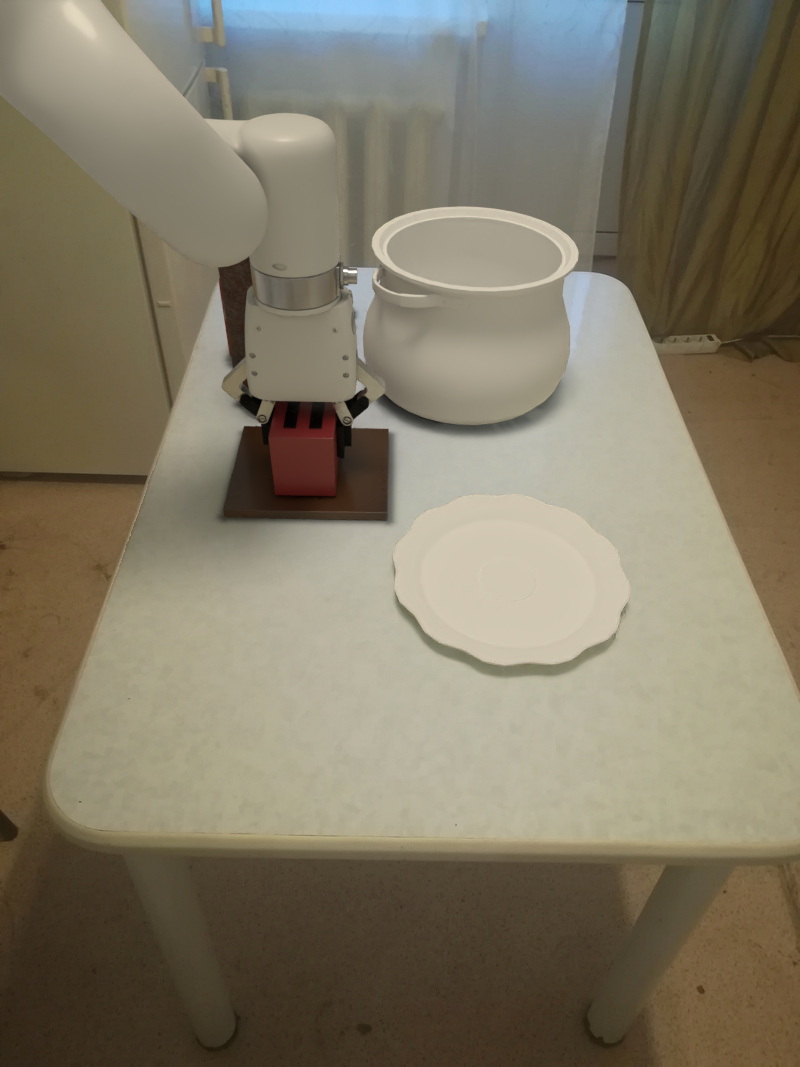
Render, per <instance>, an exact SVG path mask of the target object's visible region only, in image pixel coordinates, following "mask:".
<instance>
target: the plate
mask: <svg viewBox="0 0 800 1067" xmlns="http://www.w3.org/2000/svg"><path fill="white" fill-rule="evenodd" d="M391 555H392V556H391V558H392V561H393V566H394V570H395V575H394V583H393V590H394V592H395V596H396V598H397V600H398V602H399V604H400V605H401V606H402V607H404V609H406V611H408V612H409V613H410V614H411V615H412V616H414V619H415V620H416V622H417V623H418V624H419V626H420V628H421V629H422V631H423V633H424V634H425V635H427V636H428V637H430V638H431V639H433V640H434V641H436V642H437V643H438V644H439V645H442V646H446V647H449V648H452V649H456V650H458V651H461V652H464V653H466V654H468V655H470V656H471V657H473V658H475V659H477V660H478V661H480V662H482V663H484V664H490V665H496V666H500V667H510V666H511V667H512V666H519V665H528V664H530V665H541V666H557V665H561V664H564V663H568V662H572V661H573V660H575V659H576V658H577V657H578V656H580V655H581V654H582V653H583V652H585V651H586V650H587V649H590V648H593V647H595V646H598V645H599V644H600V645H601V644H603V643H605V642H608V640H610V638H611V637H612V636H613V635H615V633H616V632H617V631H618V629H619V625H620V620H621V614H622V611H623V610H624V608H625V607H626V605H627V604H628V602H629V601H630V599H631V583H630V581H629V579H628V578H627V575H626V573H625V572H624V570H623V568H622V563H621V557H620V552H619V551H618V550H617V548H616V547H615V545H614V544H613V543H612V542H611V540H610V539H608V538H607V537H605V536H604V535H602V534H601V533H600V532H598V531H596V530H595V529H594V528H593V527H592V526H591V525H590V524H589V523H588V521H586V520H585V518H584V517H583V516H581V515H579V514H577V513H575V512H574V511H572V510H570V509H568V508H566V507H562V506H557V505H553V504H549V503H547V502H544V501H542V500H539V499H537V498H535V497H533V496H530V495H525V494H517V493H505V494H495V495H493V494H482V493H481V494H480V493H473V494H472V493H471V494H467V495H462V496H458V497H456V498H455V499H453V500H450V501H449V502H447V503H445V504H442V505H440V506H437V507H433V508H429V509H426V510H424V511H423V512H422V513H421V514H419V515H418V516H416V517H415V518H414V520H413V522H412V524H411V526H410V528H409V529H408V531H407V532H406V533H405V534H404V535H403V536H402V537H401V538H400V539H399V540H398V541H397V542H396V543H395V545H394V549H393V552H392V554H391Z"/></svg>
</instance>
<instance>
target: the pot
mask: <svg viewBox="0 0 800 1067" xmlns="http://www.w3.org/2000/svg"><path fill="white" fill-rule="evenodd" d="M371 251H372V254H373V256H374V259H375V260H376V261H377V262H378V264H379V266H378V267H377V268H376V269H375V270H374V271H373V272H372V276H371V279H372V280H371V289H372V291H373V293H374V295H373V298H372V300H371V302H370V305H369V307H368V309H367V311H366V315H365V320H364V325H363V332H362V346H363V348H362V349H363V358H364V360H365V361H364V362H365V364H366V365H367V366H368V367H370V368H371V369H372V370H373V371H374V372H375V373H376V374H377V375H378V376H379V377H381V378H382V379H383V380H384V381H385V393H384V394H383V395H385V396H386V397H387V398H388V399H389V400H391V402H393V403H394V404H395V405H396V406H398V407H400V408H401V409H403V410H405V411H406V412H408V413H411V414H413V415H416V416H418V417H420V418H424V419H427V420H431V421H435V422H439V423H443V424H450V425H458V426H480V425H481V426H482V425H490V424H491V425H492V424H498V423H502V422H506V421H507V422H508V421H511V420H513V419H516V418H519V417H522V416H524V415H526V414H527V413H529V412H530V411H532V410H533V409H535V408H536V407H539V406H540V405H541V404H543V403H545V402H546V400H548V399H549V397H550V396H551V395H552V394H553V393H554V392H555V390H556V389H557V387H558V385H559V383H560V382H561V380H562V378H563V376H564V375H565V372H566V369H567V365H568V361H569V357H570V351H571V325H570V320H569V317H568V313H567V310H566V309H567V308H566V305H565V299H564V296H563V295H564V286H565V285H564V284H565V278H567V277H568V276H569V275H570V274H572V273H573V272H574V270H575V268H576V266H577V264H578V261H579V252H580V251H579V249H578V247H577V244H576V242H575V241H574V240H573V239H572V238H571V237H570V236H569V234H567V233H566V232H565V231H563V230H561V229H560V228H559V227H557V226H555V225H554V224H551V223H549V222H547V221H545V220H542V219H539V218H537V217H534V216H532V215H531V216H530V215H527V214H523V213H519V212H516V211H511V210H505V209H498V208H493V207H492V208H491V207H483V206H482V207H481V206H443V207H434V208H426V209H419V210H415V211H411V212H407V213H405V214H402V215H399V216H396V217H394V218H392V219H391V220H389V221H387V222H385V223H384V224H383V225H382V226H380V227H379V228H378V229H376V231H375V233H374V234H373V236H372V239H371Z"/></svg>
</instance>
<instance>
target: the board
mask: <svg viewBox="0 0 800 1067" xmlns="http://www.w3.org/2000/svg"><path fill="white" fill-rule="evenodd" d="M389 430H390V429H389V428H377V427H376V428H373V427H372V428H371V427H369V428H368V427H352V446H345V455H344V458H339V467H338V478H337V489H336V496H303V495H275V490H274V481H273V473H272V464H271V457H270V450H269V445H264V444H263V437H262V429H261V425H255V426H254V425H244V426H243V428H242V432H241V436H240V440H239V444H238V448H237V452H236V456H235V459H234V463H233V469H232V472H231V476H230V479H229V484H228V487H227V492H226V495H225V499H224V502H223V507H222V514H223V518H226V519H227V518H229V519H230V518H231V519H232V518H233V519H236V518H237V519H284V520H285V519H288V520H289V519H291V520H292V519H294V520H350V521H352V520H355V521H357V520H358V521H363V520H365V521H388V503H389V502H388V499H389V498H388V495H389V492H388V489H389V433H390V432H389Z"/></svg>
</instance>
